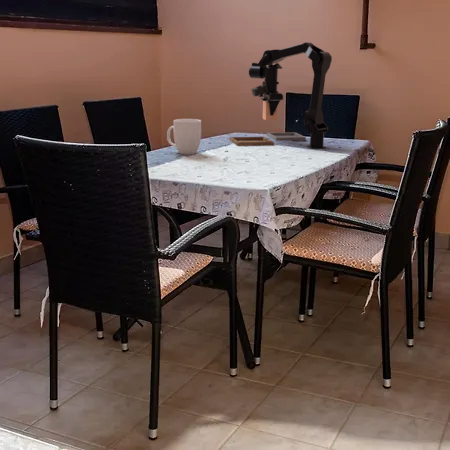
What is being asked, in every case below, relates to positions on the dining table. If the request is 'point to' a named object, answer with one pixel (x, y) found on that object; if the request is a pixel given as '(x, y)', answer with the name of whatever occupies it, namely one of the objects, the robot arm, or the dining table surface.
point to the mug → (186, 135)
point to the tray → (287, 136)
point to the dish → (251, 141)
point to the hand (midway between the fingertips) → (269, 114)
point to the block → (268, 112)
